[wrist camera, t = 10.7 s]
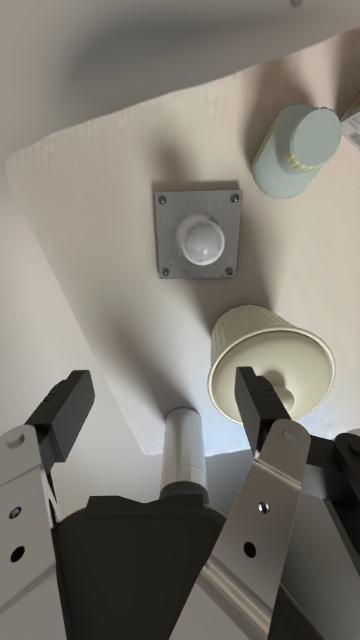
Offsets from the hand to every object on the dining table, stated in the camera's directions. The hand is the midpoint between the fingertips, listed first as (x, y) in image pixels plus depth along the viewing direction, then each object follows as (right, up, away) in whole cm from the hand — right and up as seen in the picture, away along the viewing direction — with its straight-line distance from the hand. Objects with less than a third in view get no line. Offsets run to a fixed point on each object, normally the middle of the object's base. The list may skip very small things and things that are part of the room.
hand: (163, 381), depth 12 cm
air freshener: (+17, +28, +23) cm, 40 cm away
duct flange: (+4, +18, +27) cm, 33 cm away
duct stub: (+4, +17, +25) cm, 31 cm away
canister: (+14, +1, +35) cm, 38 cm away
